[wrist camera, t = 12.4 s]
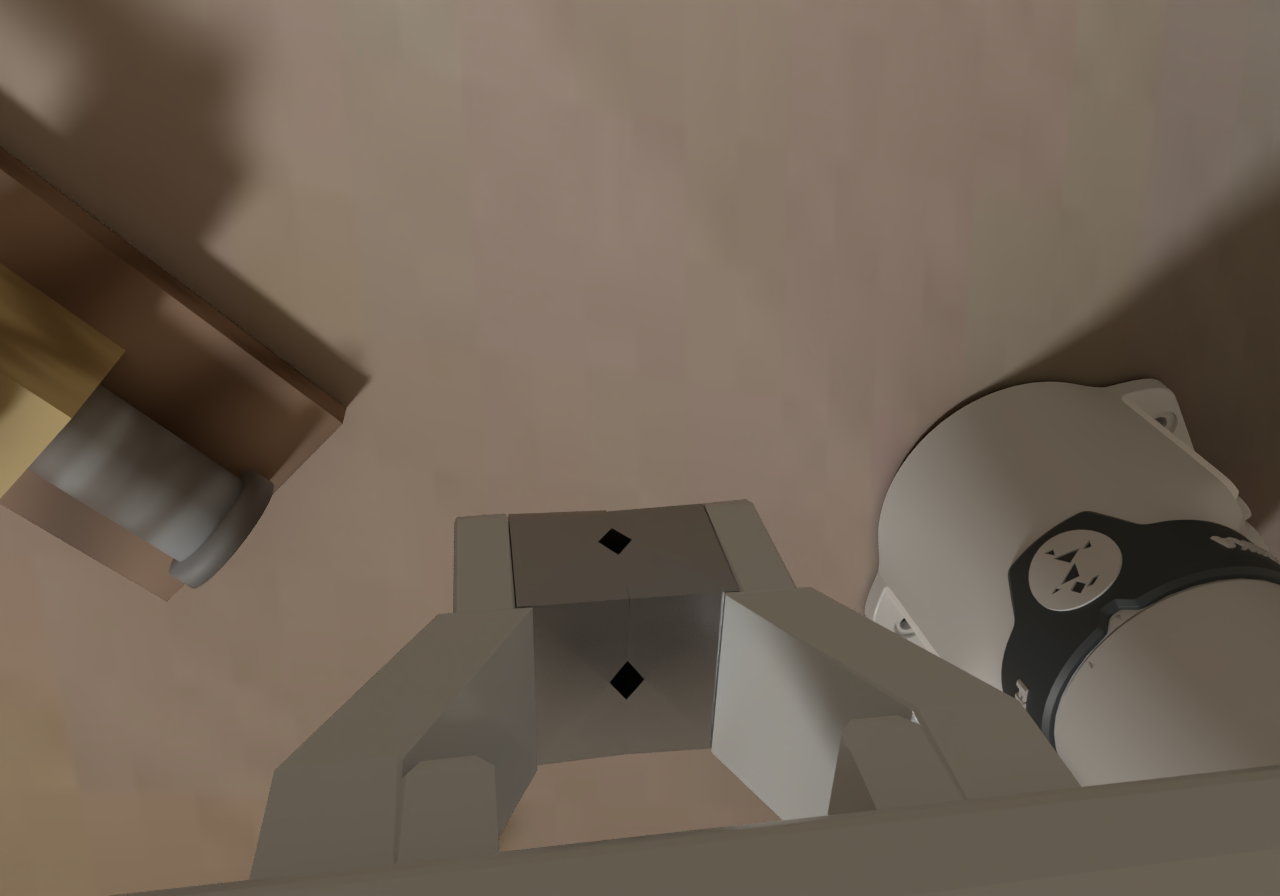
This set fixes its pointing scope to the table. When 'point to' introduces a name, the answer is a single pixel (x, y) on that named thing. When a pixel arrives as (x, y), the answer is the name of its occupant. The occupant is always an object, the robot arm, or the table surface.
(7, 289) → the valve mount
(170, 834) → the table surface
